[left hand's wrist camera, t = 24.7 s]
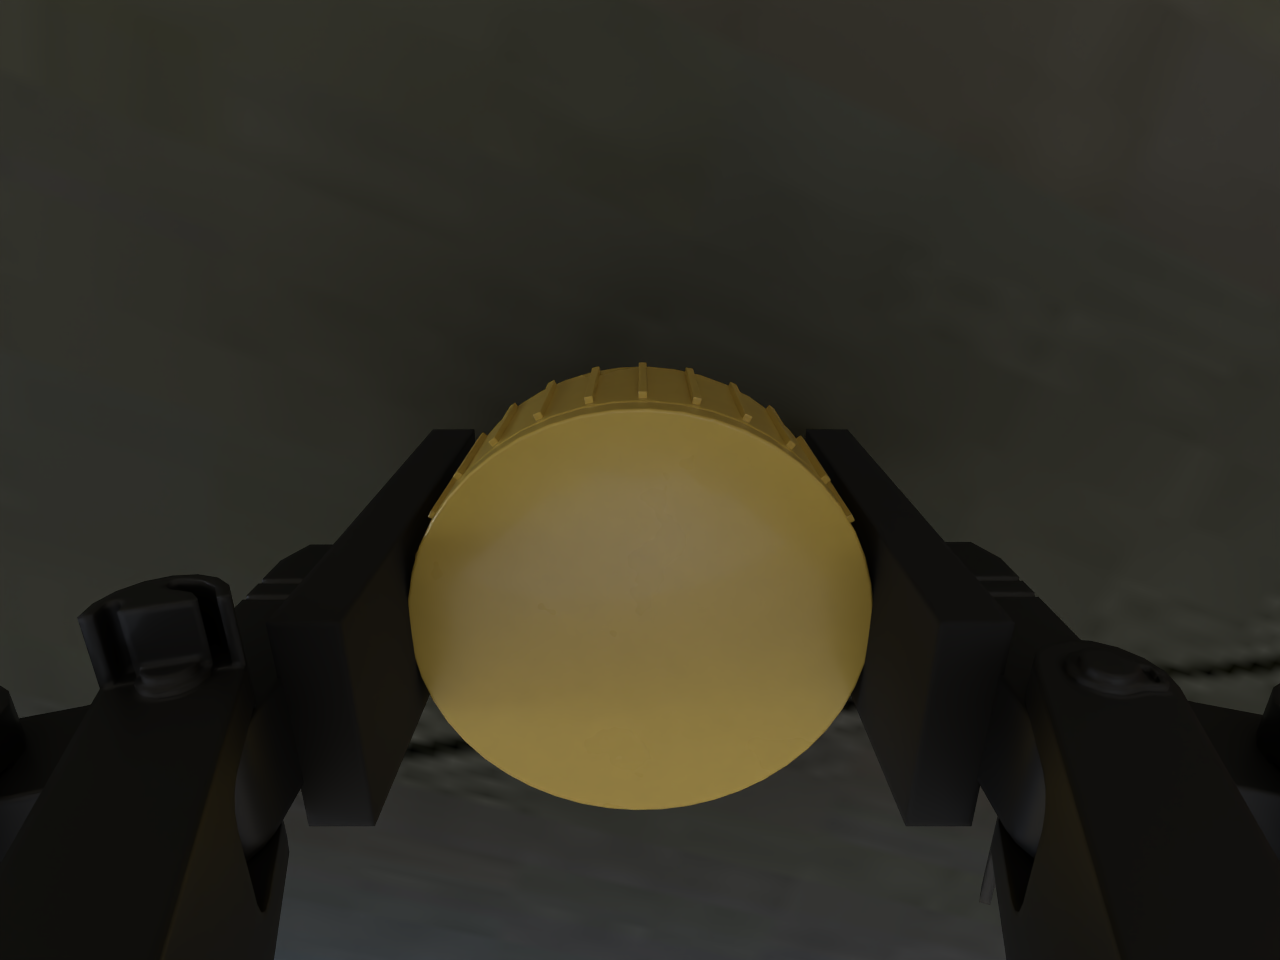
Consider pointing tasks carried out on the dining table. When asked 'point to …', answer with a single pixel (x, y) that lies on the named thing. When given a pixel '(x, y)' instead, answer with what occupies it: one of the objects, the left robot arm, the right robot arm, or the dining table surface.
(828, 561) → the lid
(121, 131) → the dining table surface
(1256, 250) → the dining table surface
